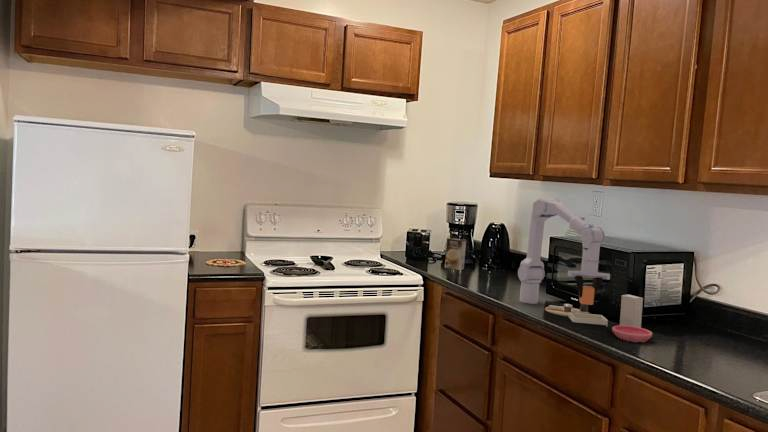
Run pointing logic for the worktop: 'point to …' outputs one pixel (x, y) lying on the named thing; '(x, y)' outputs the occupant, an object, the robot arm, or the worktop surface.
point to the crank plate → (561, 311)
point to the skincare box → (631, 310)
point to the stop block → (587, 295)
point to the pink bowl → (632, 333)
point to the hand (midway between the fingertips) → (586, 297)
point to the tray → (588, 318)
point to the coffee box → (455, 253)
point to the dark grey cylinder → (582, 309)
